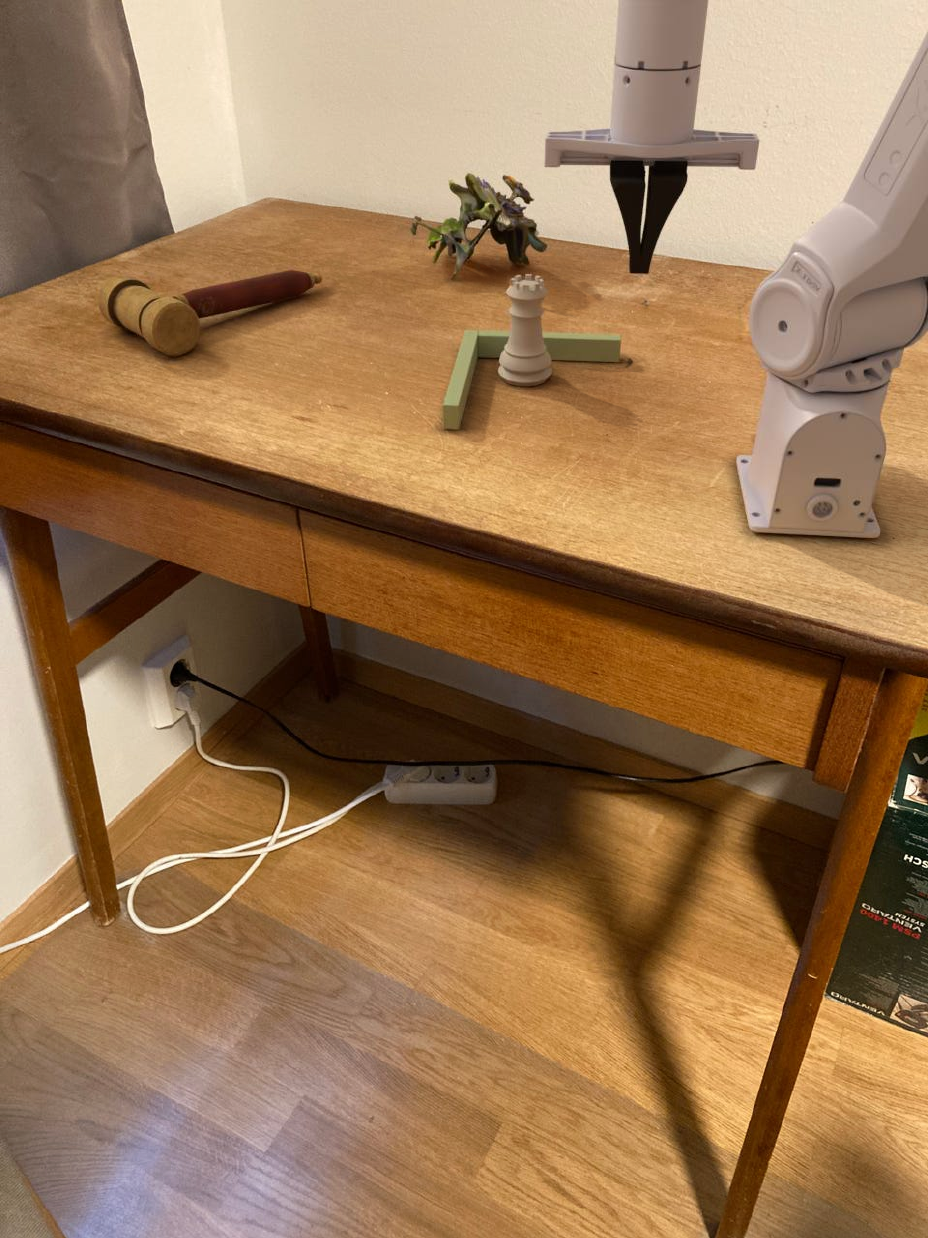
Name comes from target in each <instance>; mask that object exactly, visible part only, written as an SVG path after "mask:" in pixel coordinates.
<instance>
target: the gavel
mask: <svg viewBox="0 0 928 1238" xmlns="http://www.w3.org/2000/svg"><path fill="white" fill-rule="evenodd" d="M322 282H323V276H322V274H321V273H318V272H316V273H311V272H310V271H301V270H296V269H289V270H284V271H279V272H274V273H269V274H263V275H259V276H254V277H248V278H245V279H239V280H233V281H229V282H225V283H220V284H215V285H211V286H210V285H209V286H206V287H200V288H195V289H191V290H189V291H186V292H184V293H181V294H178V295H174V296H163V295H162V294H159V293H157V292H155V291H153V290H151V288H150V287H149V286H148V285H147V284H146V283H145V282H144V281H141V280H139V279H137V278H136V277H134V276H131V275H128V274H116V275H113V276H111V277H110V278H108V279H107V280H106V281H105V282H104V283H103V284H102V286H101V288H100V290H99V293H98V298H97V301H98V308H99V311H100V312H101V315H102V317H103V318H104V319H105V320H106V321H107V322H109V323H110V324H112V325H113V326H115V327H117V328H119V329H121V330H124V331H126V332H132V333H135V334H137V335H138V336H140V337H142V338H144V339H145V341H146V343H147V344H148V345H149V346H151V347H152V348H154V349H156V350H157V351H159V352H161V353H163V354H165V355H166V356H169V357H178V356H182V355H185V354H187V353H188V352H190V351H191V350H192V349H193V348H194V346H196V344H197V342H198V340H199V337H200V334H201V321H200V319H204V318H210V317H214V316H219V315H222V314H227V313H231V312H236V311H240V310H245V309H250V308H254V307H259V306H263V305H267V304H272V303H276V302H281V301H285V300H290V299H294V298H295V299H296V298H298V297H299V298H300V296H302V295H303V294H305V293H306V292H307V291H309V290H311V289H313V288H314V287H315V286H316V285H319V284H321V283H322Z"/></svg>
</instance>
